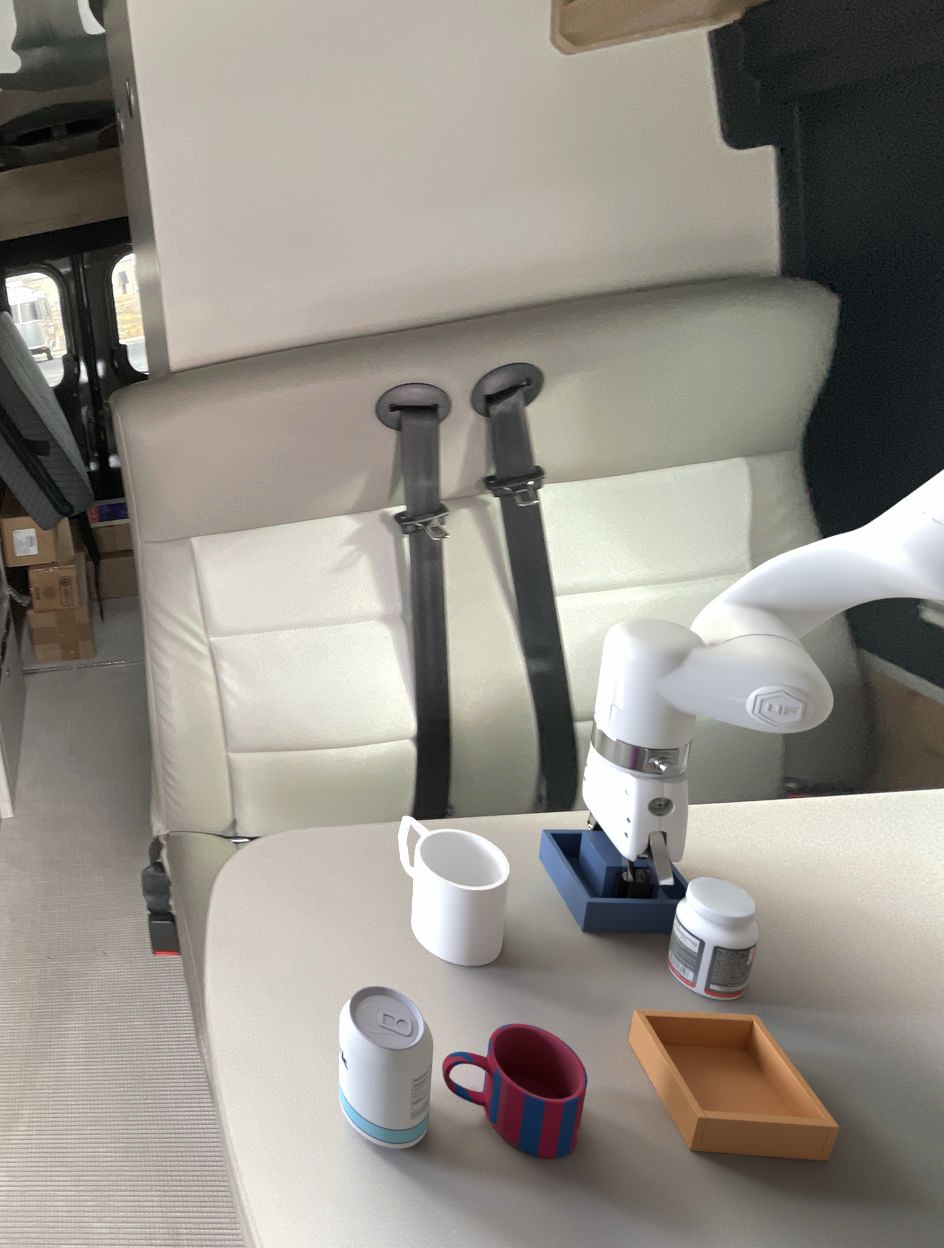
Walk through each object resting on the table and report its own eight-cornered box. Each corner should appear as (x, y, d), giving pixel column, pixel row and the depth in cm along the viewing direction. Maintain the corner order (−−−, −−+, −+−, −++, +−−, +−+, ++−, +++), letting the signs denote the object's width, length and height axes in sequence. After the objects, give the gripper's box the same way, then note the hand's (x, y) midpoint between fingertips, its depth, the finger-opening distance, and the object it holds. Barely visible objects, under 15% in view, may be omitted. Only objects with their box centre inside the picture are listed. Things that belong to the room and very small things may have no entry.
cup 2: (587, 1171, 65) (597, 1114, 63) (443, 1133, 69) (447, 1078, 67) (567, 1089, 71) (576, 1034, 68) (435, 1058, 75) (439, 1005, 72)
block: (629, 867, 89) (635, 830, 87) (655, 904, 84) (663, 866, 82) (577, 866, 90) (582, 830, 88) (600, 903, 85) (606, 866, 84)
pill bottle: (747, 969, 78) (768, 890, 74) (742, 1014, 74) (764, 933, 71) (669, 940, 82) (685, 863, 78) (661, 981, 78) (677, 902, 74)
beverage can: (345, 1062, 76) (346, 967, 71) (430, 1093, 72) (437, 996, 68) (332, 1134, 70) (333, 1036, 66) (424, 1172, 67) (430, 1071, 62)
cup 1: (426, 867, 94) (430, 797, 91) (521, 947, 83) (530, 871, 80) (367, 893, 92) (369, 822, 89) (457, 978, 81) (463, 901, 78)
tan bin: (748, 1046, 72) (757, 1014, 70) (828, 1161, 63) (840, 1127, 62) (627, 1040, 74) (633, 1008, 72) (690, 1150, 65) (698, 1117, 64)
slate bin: (641, 858, 91) (646, 829, 90) (698, 934, 82) (704, 904, 80) (538, 856, 93) (541, 829, 92) (582, 931, 84) (586, 902, 83)
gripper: (742, 801, 72) (707, 953, 78) (635, 690, 87) (614, 825, 94) (643, 801, 73) (618, 950, 80) (556, 693, 89) (540, 825, 95)
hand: (616, 881), depth 87 cm, fingers closed on block, 5 cm apart
